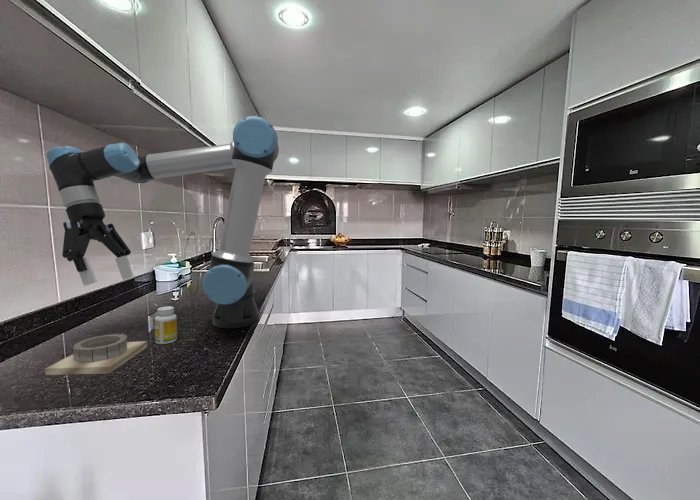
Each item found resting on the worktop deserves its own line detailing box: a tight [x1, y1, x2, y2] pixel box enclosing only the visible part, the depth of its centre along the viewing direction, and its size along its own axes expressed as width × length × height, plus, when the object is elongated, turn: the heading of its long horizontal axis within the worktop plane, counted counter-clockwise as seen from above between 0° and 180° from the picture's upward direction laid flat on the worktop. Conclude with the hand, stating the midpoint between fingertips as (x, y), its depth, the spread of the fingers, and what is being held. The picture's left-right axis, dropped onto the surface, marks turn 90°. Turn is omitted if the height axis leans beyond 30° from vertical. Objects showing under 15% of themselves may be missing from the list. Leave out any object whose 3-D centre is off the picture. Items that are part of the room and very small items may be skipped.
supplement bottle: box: [154, 305, 178, 345], centre depth 86 cm, size 5×5×10 cm
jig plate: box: [44, 333, 148, 376], centre depth 74 cm, size 13×15×4 cm
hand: (111, 280), depth 81 cm, fingers open, 13 cm apart
